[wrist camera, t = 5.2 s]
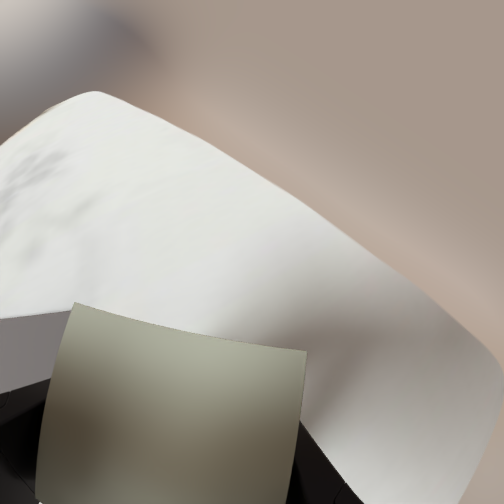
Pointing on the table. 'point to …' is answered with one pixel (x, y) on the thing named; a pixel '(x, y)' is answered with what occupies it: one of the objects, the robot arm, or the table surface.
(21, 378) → the mat
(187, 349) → the stool
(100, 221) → the table surface
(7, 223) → the table surface
